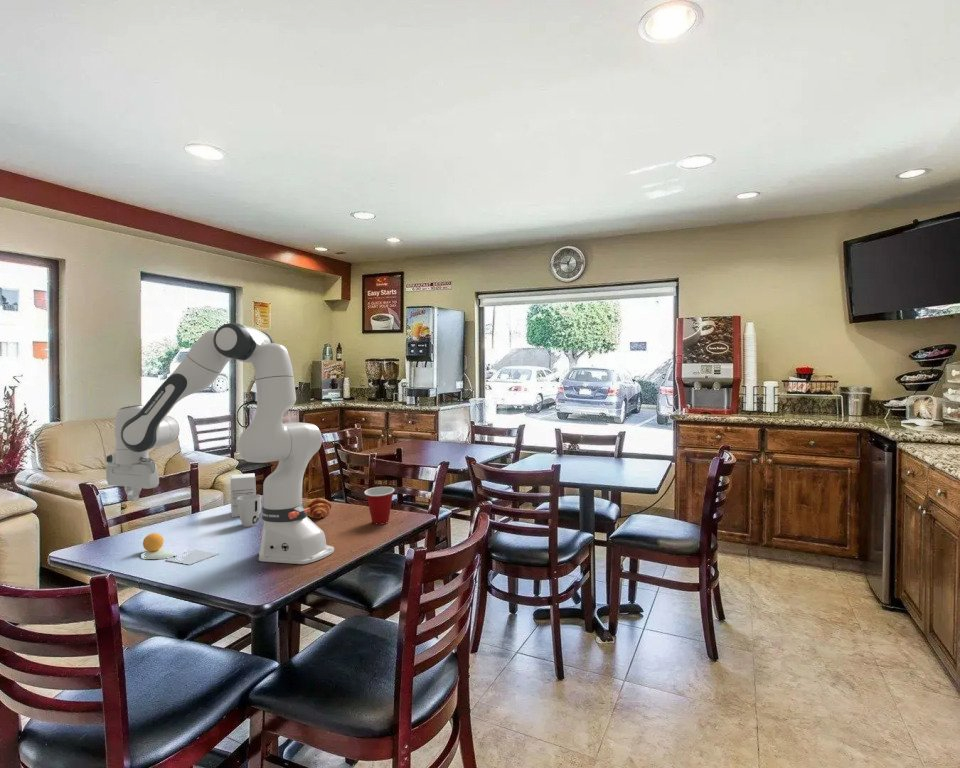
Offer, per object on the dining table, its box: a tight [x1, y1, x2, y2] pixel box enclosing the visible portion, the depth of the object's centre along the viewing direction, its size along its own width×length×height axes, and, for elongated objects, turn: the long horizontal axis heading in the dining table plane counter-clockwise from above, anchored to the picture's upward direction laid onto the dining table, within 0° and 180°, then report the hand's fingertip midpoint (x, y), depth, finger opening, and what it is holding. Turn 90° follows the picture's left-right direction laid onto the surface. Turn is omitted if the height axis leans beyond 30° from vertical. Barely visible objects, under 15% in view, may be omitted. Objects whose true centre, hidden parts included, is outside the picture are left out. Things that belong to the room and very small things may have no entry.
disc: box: [144, 546, 188, 560], centre depth 165 cm, size 13×13×1 cm
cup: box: [237, 494, 263, 528], centre depth 195 cm, size 8×8×10 cm
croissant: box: [304, 497, 332, 520], centre depth 209 cm, size 21×10×8 cm, turn 22°
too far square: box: [166, 549, 219, 566], centre depth 160 cm, size 10×10×1 cm
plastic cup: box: [364, 486, 395, 525], centre depth 195 cm, size 11×11×12 cm
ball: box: [142, 532, 165, 552], centre depth 167 cm, size 6×6×6 cm
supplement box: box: [230, 472, 257, 518], centre depth 211 cm, size 9×9×15 cm
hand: (133, 500), depth 170 cm, fingers closed
